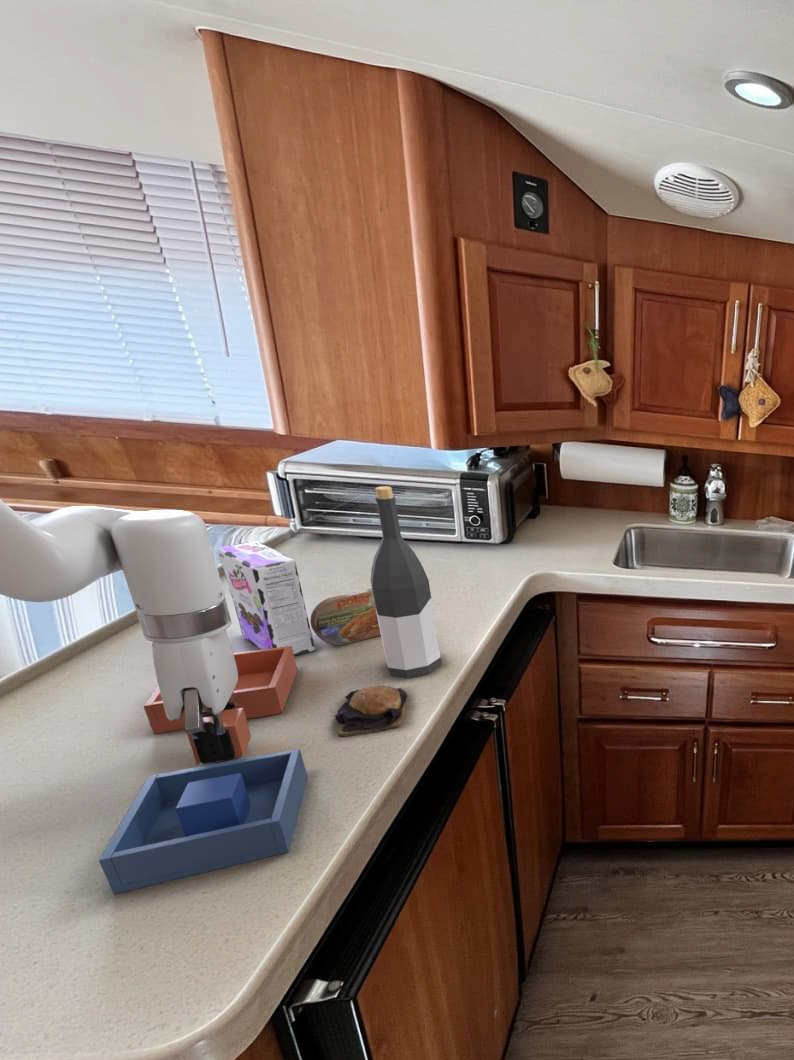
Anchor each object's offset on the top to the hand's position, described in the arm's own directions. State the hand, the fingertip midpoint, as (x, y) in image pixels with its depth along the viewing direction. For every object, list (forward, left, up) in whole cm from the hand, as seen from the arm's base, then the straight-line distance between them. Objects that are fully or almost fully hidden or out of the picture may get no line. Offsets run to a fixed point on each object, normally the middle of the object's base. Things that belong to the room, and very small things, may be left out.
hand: (223, 747), depth 80 cm
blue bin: (+3, -15, -1) cm, 15 cm away
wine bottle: (+21, +18, -2) cm, 27 cm away
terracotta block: (0, 0, 0) cm, 0 cm away
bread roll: (+16, +5, -2) cm, 16 cm away
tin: (+13, +33, -2) cm, 35 cm away
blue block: (+3, -15, -1) cm, 15 cm away
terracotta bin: (-2, +16, -1) cm, 16 cm away
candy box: (0, +34, -2) cm, 34 cm away
